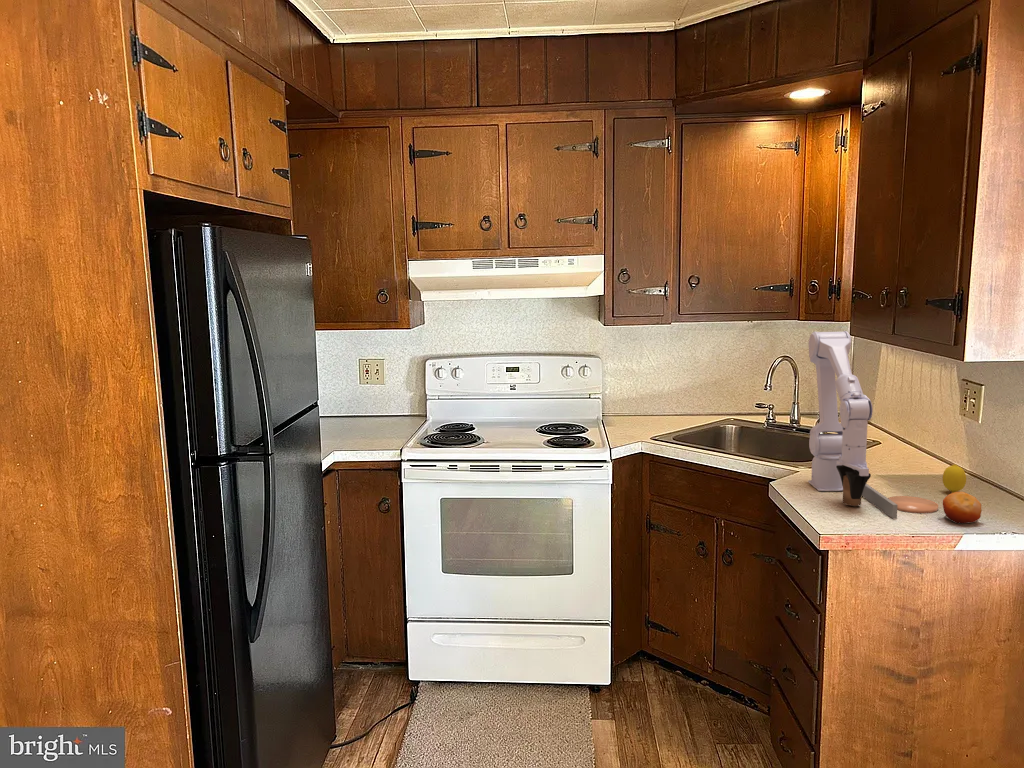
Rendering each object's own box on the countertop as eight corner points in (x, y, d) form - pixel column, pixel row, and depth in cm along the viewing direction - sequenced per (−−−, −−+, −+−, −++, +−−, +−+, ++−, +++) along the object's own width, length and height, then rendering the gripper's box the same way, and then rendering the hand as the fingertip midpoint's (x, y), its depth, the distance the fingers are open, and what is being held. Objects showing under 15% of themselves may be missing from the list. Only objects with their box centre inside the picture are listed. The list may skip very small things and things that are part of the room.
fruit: (961, 507, 183) (974, 485, 178) (978, 532, 177) (992, 510, 172) (929, 508, 183) (941, 486, 178) (945, 533, 177) (958, 511, 172)
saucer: (877, 499, 196) (877, 496, 196) (924, 498, 195) (924, 495, 195) (897, 513, 184) (898, 510, 184) (947, 513, 184) (947, 510, 183)
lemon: (943, 489, 203) (945, 461, 202) (966, 492, 200) (968, 463, 199) (939, 493, 199) (941, 465, 198) (963, 497, 196) (965, 468, 195)
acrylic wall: (860, 494, 200) (860, 482, 200) (863, 494, 200) (864, 482, 200) (892, 518, 181) (893, 504, 180) (896, 518, 181) (897, 504, 180)
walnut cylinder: (839, 500, 193) (840, 474, 192) (857, 500, 193) (858, 474, 192) (846, 505, 189) (847, 479, 188) (863, 505, 189) (865, 479, 188)
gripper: (828, 438, 196) (826, 487, 198) (849, 451, 182) (846, 504, 184) (855, 438, 196) (853, 487, 198) (878, 451, 181) (875, 504, 183)
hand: (852, 495), depth 191 cm, fingers closed on walnut cylinder, 4 cm apart
